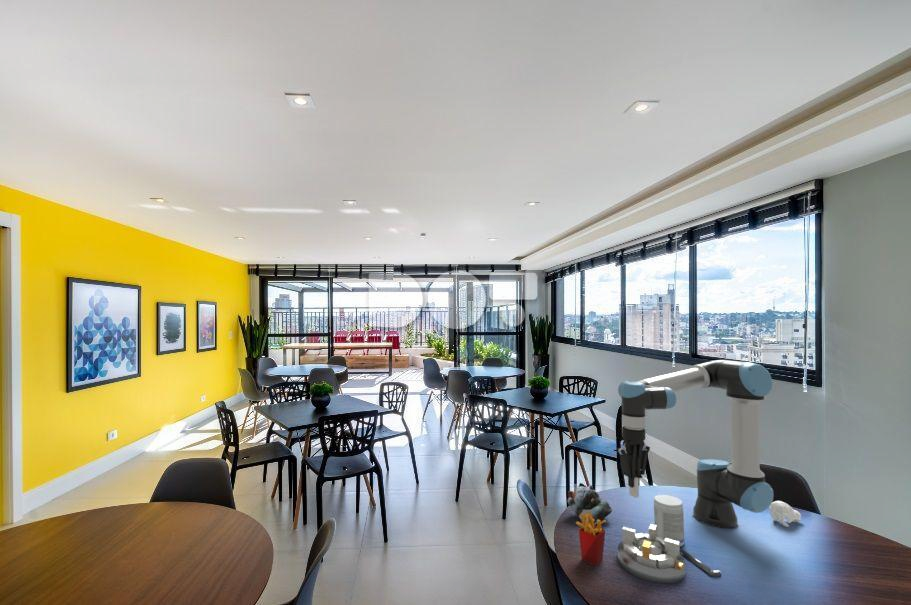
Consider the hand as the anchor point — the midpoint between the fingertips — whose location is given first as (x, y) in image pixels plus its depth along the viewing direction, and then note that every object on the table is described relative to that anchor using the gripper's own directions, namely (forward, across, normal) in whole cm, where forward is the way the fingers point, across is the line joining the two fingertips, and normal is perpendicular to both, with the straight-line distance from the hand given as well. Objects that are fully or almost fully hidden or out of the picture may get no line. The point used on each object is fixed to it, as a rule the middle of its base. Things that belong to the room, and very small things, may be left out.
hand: (634, 495), depth 140 cm
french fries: (+20, +17, -3) cm, 26 cm away
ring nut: (+16, 0, +6) cm, 17 cm away
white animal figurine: (+19, -74, +5) cm, 76 cm away
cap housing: (+19, 0, +6) cm, 20 cm away
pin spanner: (+20, -15, +12) cm, 27 cm away
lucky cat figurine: (+20, -2, -25) cm, 32 cm away
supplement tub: (+20, -18, -2) cm, 27 cm away
